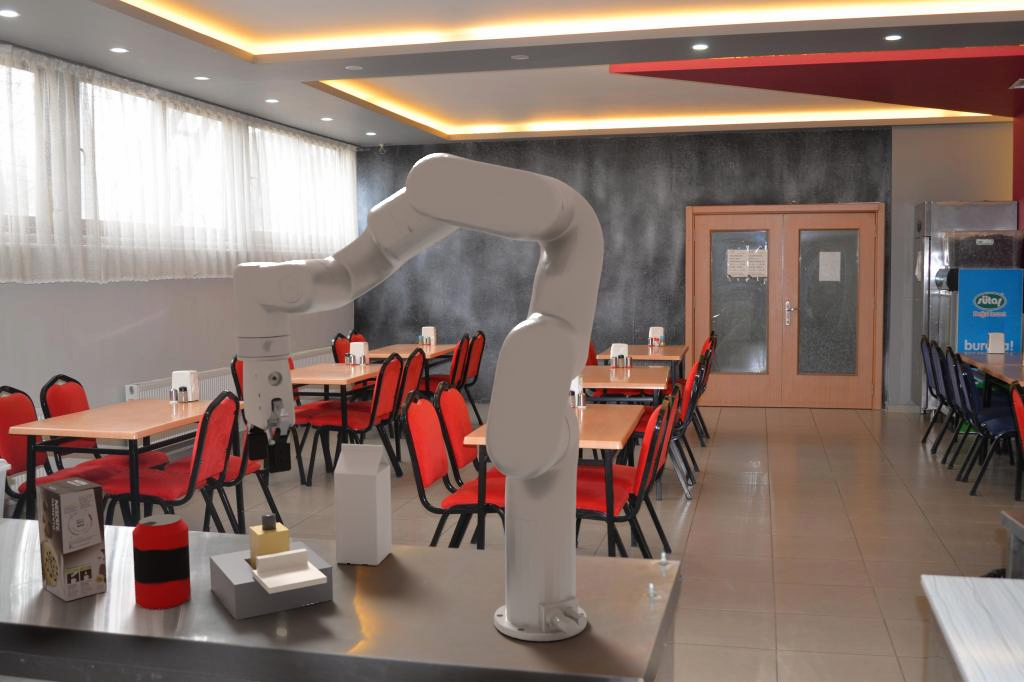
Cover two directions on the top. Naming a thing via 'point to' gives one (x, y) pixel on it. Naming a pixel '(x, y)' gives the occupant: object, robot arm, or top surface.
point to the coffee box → (72, 538)
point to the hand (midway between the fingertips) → (269, 465)
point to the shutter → (286, 571)
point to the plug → (268, 538)
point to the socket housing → (250, 597)
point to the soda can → (161, 562)
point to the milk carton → (362, 505)
